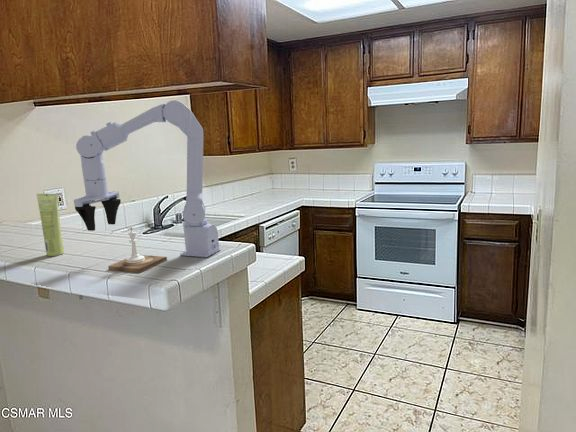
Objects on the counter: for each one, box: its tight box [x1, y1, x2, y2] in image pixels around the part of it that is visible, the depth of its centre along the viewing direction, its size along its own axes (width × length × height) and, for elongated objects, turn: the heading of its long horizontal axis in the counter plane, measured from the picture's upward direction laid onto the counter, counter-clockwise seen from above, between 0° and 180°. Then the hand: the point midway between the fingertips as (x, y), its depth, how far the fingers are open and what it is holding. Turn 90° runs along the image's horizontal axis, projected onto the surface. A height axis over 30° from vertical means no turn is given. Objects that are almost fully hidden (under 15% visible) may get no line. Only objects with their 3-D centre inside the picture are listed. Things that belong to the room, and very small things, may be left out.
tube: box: [36, 193, 65, 257], centre depth 137 cm, size 6×5×20 cm
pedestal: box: [107, 254, 168, 274], centre depth 122 cm, size 11×11×1 cm
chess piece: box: [126, 225, 145, 263], centre depth 122 cm, size 5×5×10 cm
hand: (101, 227), depth 125 cm, fingers open, 7 cm apart
